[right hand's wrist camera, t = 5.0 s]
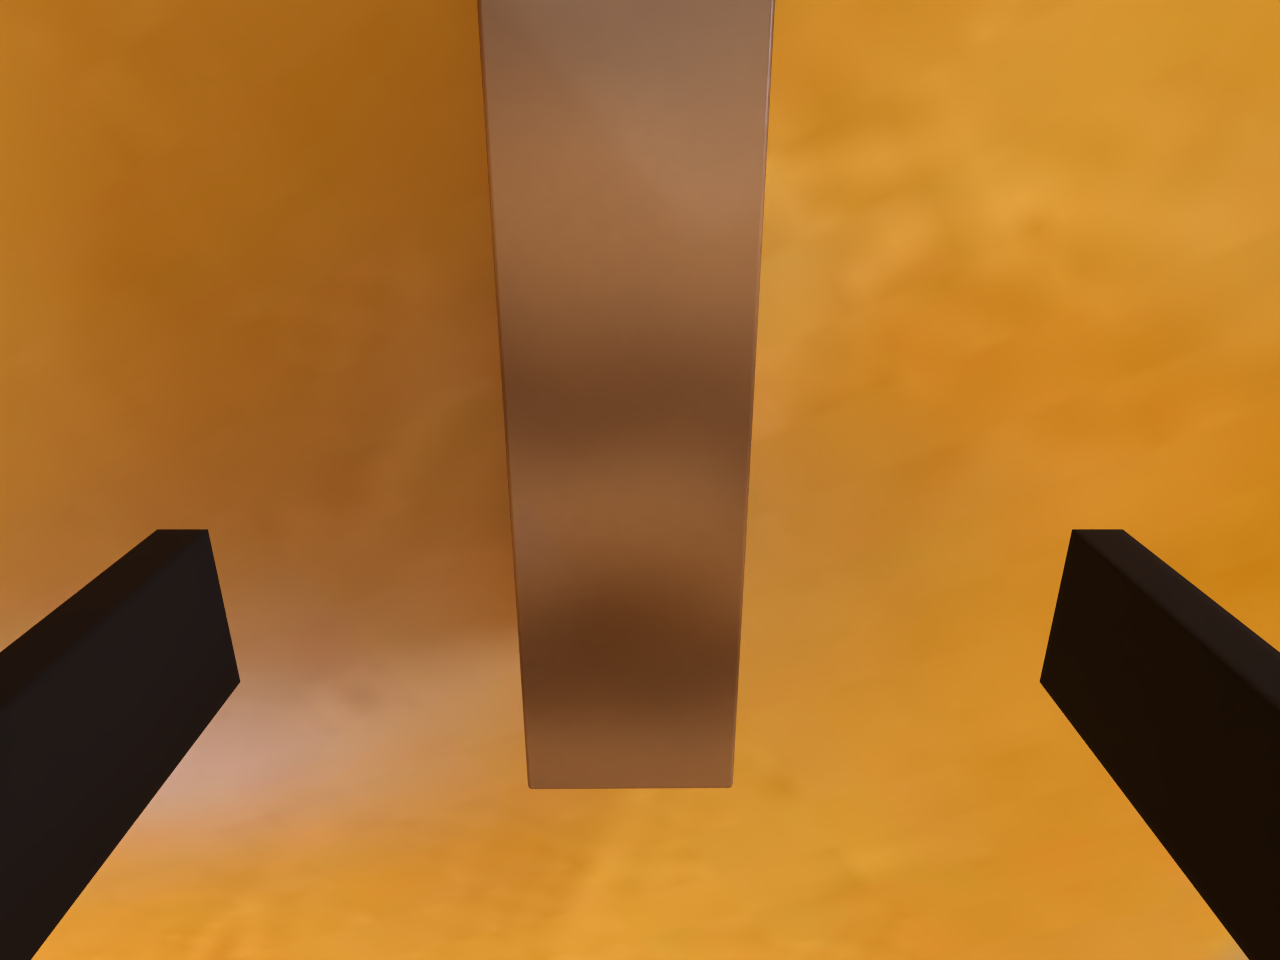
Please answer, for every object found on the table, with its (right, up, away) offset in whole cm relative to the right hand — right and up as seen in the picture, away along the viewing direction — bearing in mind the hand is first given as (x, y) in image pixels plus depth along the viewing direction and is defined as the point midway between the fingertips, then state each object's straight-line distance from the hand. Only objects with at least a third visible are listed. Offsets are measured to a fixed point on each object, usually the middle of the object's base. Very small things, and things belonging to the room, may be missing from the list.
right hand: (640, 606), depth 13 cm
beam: (0, +35, -2) cm, 35 cm away
